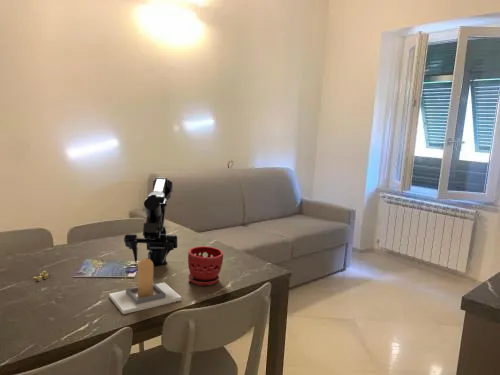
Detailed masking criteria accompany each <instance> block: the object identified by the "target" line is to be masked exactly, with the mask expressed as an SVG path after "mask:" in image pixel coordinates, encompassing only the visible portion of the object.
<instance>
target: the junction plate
mask: <svg viewBox="0 0 500 375" xmlns="http://www.w3.org/2000/svg"><path fill="white" fill-rule="evenodd" d="M108 295H109V299H110V300H111V301H112V302H113V303H114V305H115V306H116V308H117V309H118V310H119V311H120V312H121V313H122V315H125V314H129V313H134V312H138V311H143V310H147V309H151V308H156V307H159V306H163V305H164V306H165V305H169V304H172V302H173V303H176V301H177V302H180V301H182V296H181V295H180V294H178V293H177V292H176V291H175V290H174V289H172V288H171V287H170V286H169V285H168V284H167V283H166V282H160V283H154V282H153V295H151V296H147V297H142V298H139V297H138V285H137V286H133V287H128V288H125V290H122V291H121V290H120V291H116V292H112V293H111V292H110V293H109V294H108Z"/></svg>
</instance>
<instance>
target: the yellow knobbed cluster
mask: <svg viewBox="0 0 500 375" xmlns="http://www.w3.org/2000/svg"><path fill="white" fill-rule="evenodd" d="M43 278H44V280H45V279H47V280H48V279H49V273H47V271H45V270H43V271H41V273H39V275H38V276H33V277H32V279H33V280H34V279H35V280H37V282H42V280H43Z"/></svg>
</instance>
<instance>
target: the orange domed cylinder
mask: <svg viewBox="0 0 500 375" xmlns="http://www.w3.org/2000/svg"><path fill="white" fill-rule="evenodd" d="M153 283H154V266H153V262H152V261H151V260H150V259H148V257H146V258H142V259H141V260H139V262H138V264H137V286H138V297H139V298H142V297H147V296H151V295H153Z"/></svg>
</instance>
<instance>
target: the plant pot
mask: <svg viewBox="0 0 500 375" xmlns="http://www.w3.org/2000/svg"><path fill="white" fill-rule="evenodd" d="M204 253H206V254H207V256H206V257H205V256H203V254H204ZM187 255H188V256H187V265H188V270H189V274H188V280H189V281H190V282H191V283H192V284H195V285H197V286H203V287H204V286H211V285H215V284H216V283H217V282H218V281H219V279H220V276H219V274H220V272H221V270H222V266H223V260H224V252H223V251H222V250H221V249H220V248H216V247H212V246H195V247H192V248H190V249H189V250H188V254H187Z"/></svg>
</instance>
